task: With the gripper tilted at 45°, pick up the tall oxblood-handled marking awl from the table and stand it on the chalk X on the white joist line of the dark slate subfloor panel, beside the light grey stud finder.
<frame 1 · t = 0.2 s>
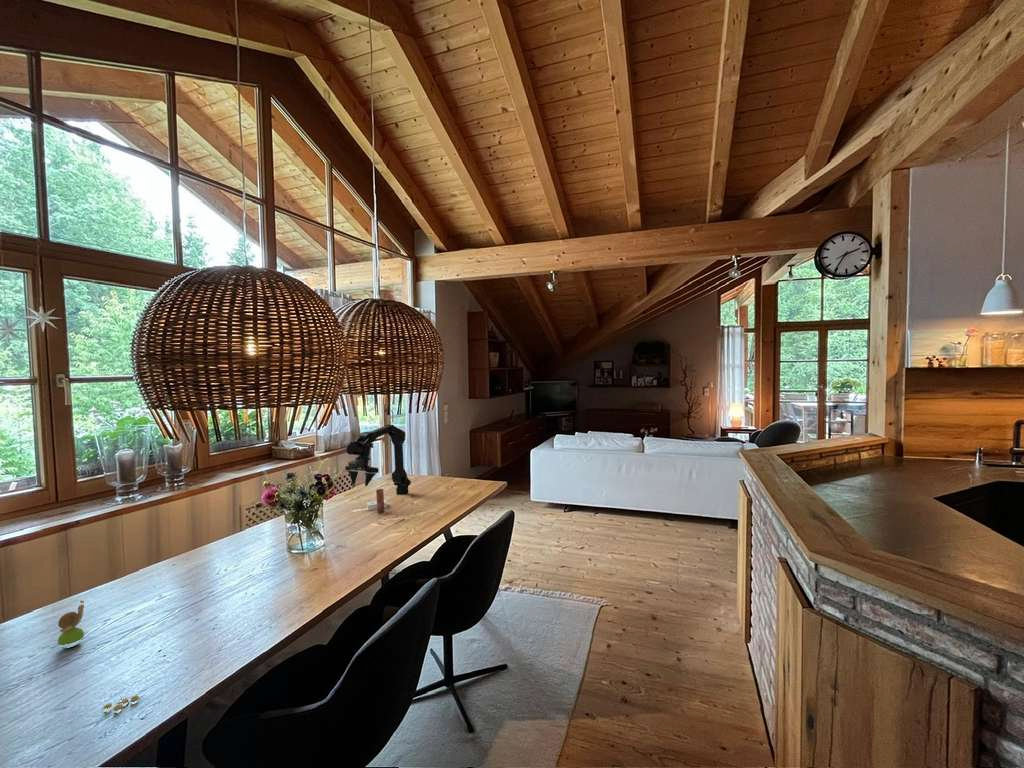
hand: (359, 485, 237), 15 cm above the table, tool tilted 15°, fingers open, 9 cm apart
snail figurine: (74, 646, 131), on the table
marking awl: (381, 515, 234), on the table
subfloor panel: (368, 508, 246), on the table
dice set: (120, 710, 107), on the table
stud finder: (376, 507, 243), resting on subfloor panel
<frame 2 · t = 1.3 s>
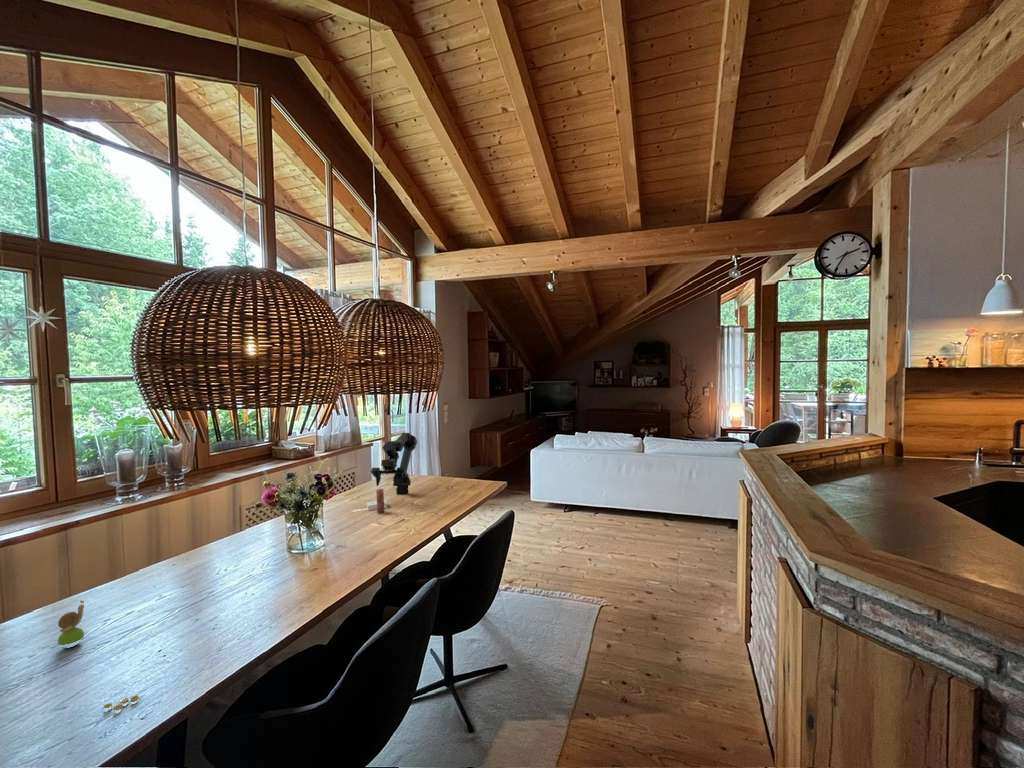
hand: (385, 485, 241), 13 cm above the table, tool tilted 45°, fingers open, 9 cm apart
nothing on the table moved.
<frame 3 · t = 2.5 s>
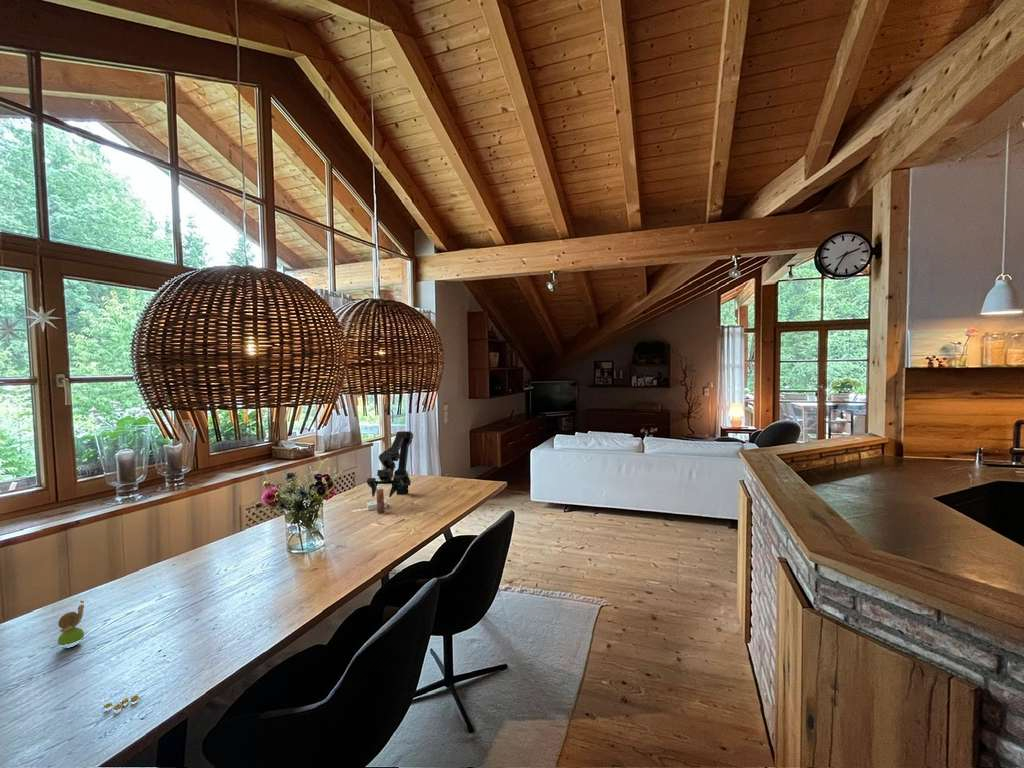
hand: (381, 496, 235), 9 cm above the table, tool tilted 45°, fingers open, 9 cm apart
nothing on the table moved.
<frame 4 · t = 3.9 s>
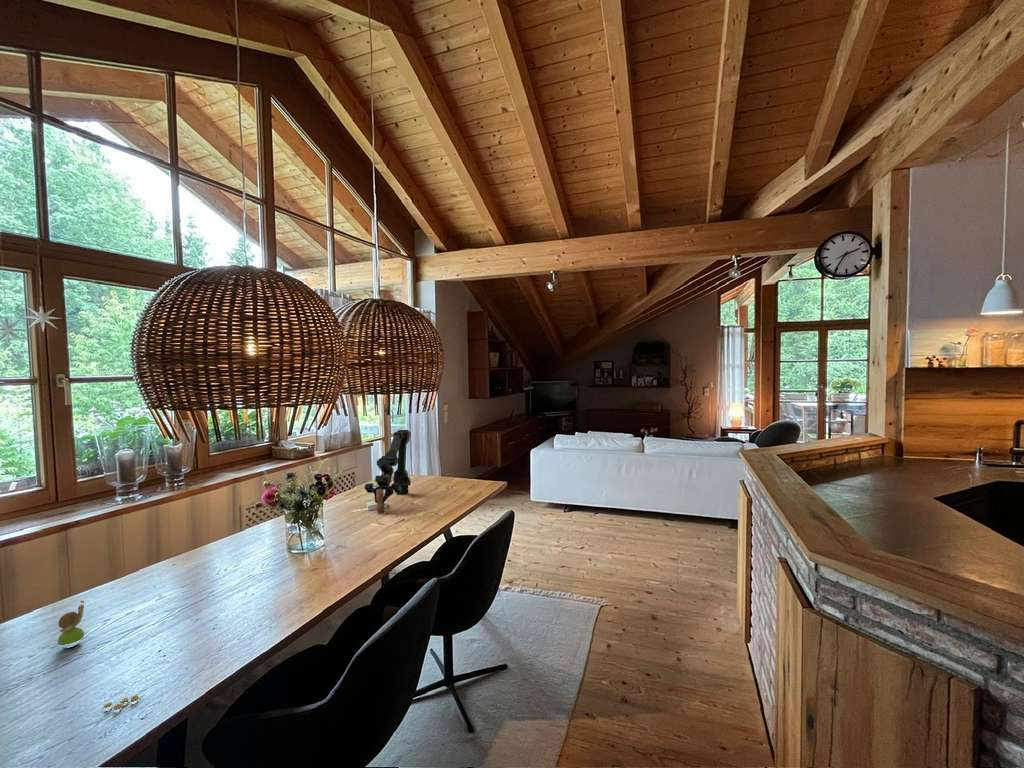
hand: (379, 502, 233), 7 cm above the table, tool tilted 45°, fingers closed on marking awl, 4 cm apart
marking awl: (381, 515, 234), on the table, touching gripper
everything else where it was.
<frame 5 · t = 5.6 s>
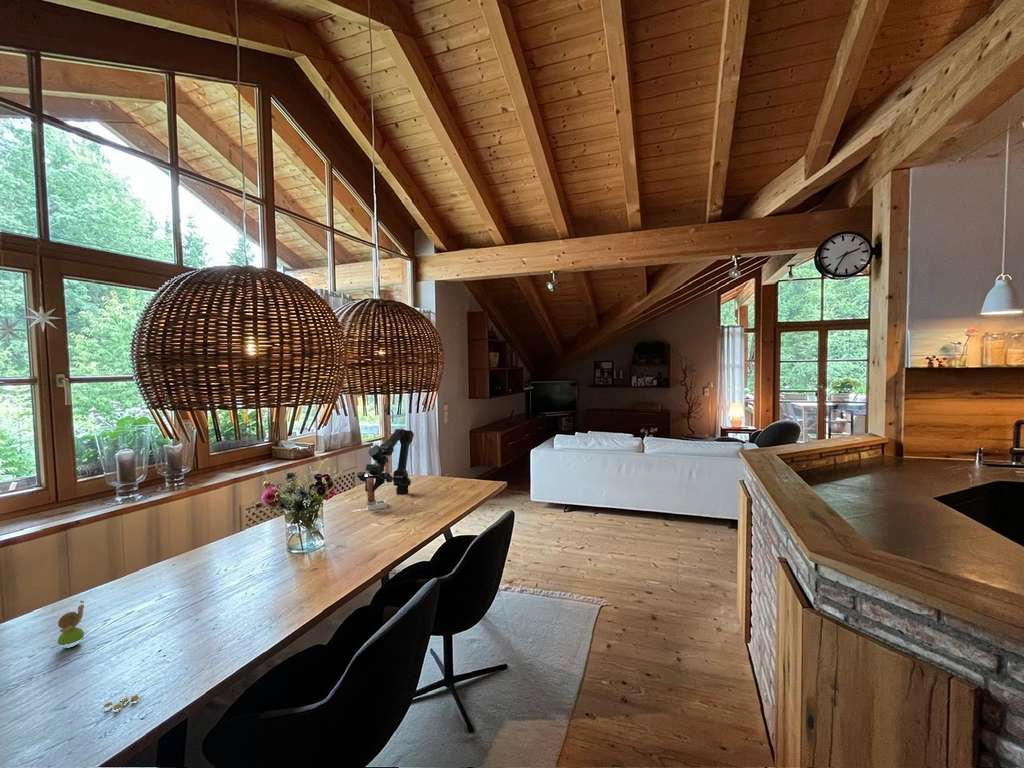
hand: (369, 491, 233), 13 cm above the table, tool tilted 45°, fingers closed on marking awl, 4 cm apart
marking awl: (371, 503, 235), point 6 cm above the table, touching gripper
everything else where it was.
when the fingers open (10 cm above the table, at t = 7.3 s): marking awl drops 1 cm, resting on subfloor panel.
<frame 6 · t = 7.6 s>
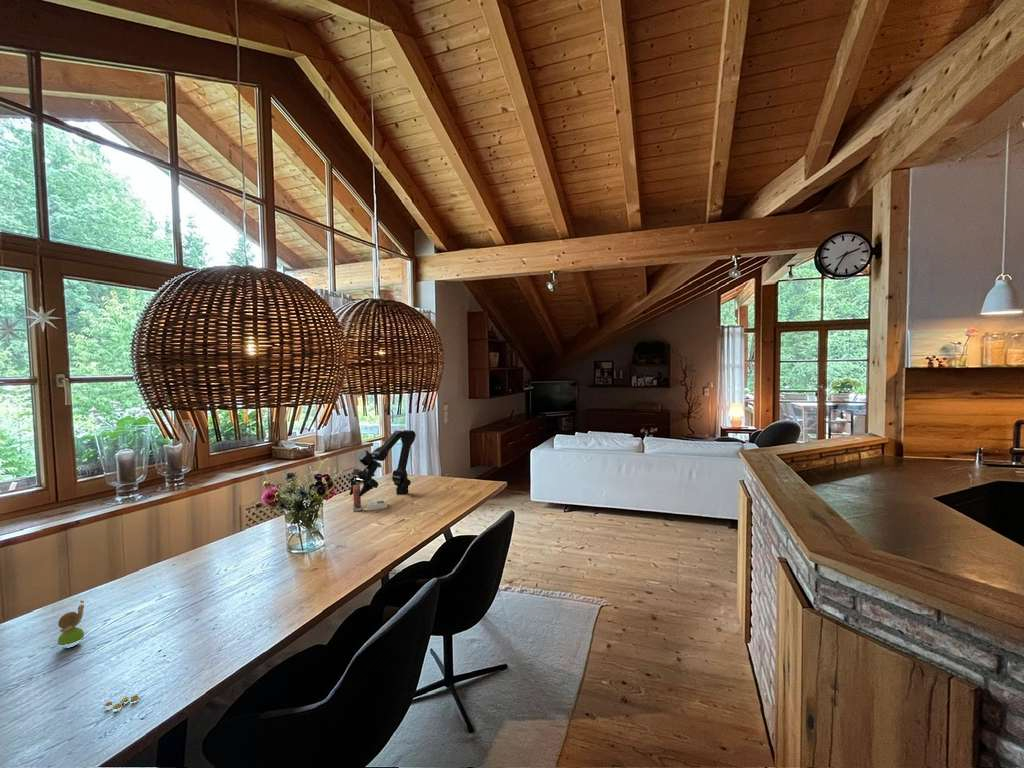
hand: (354, 495, 238), 10 cm above the table, tool tilted 45°, fingers open, 7 cm apart
marking awl: (357, 510, 240), point 1 cm above the table, touching subfloor panel
everything else where it was.
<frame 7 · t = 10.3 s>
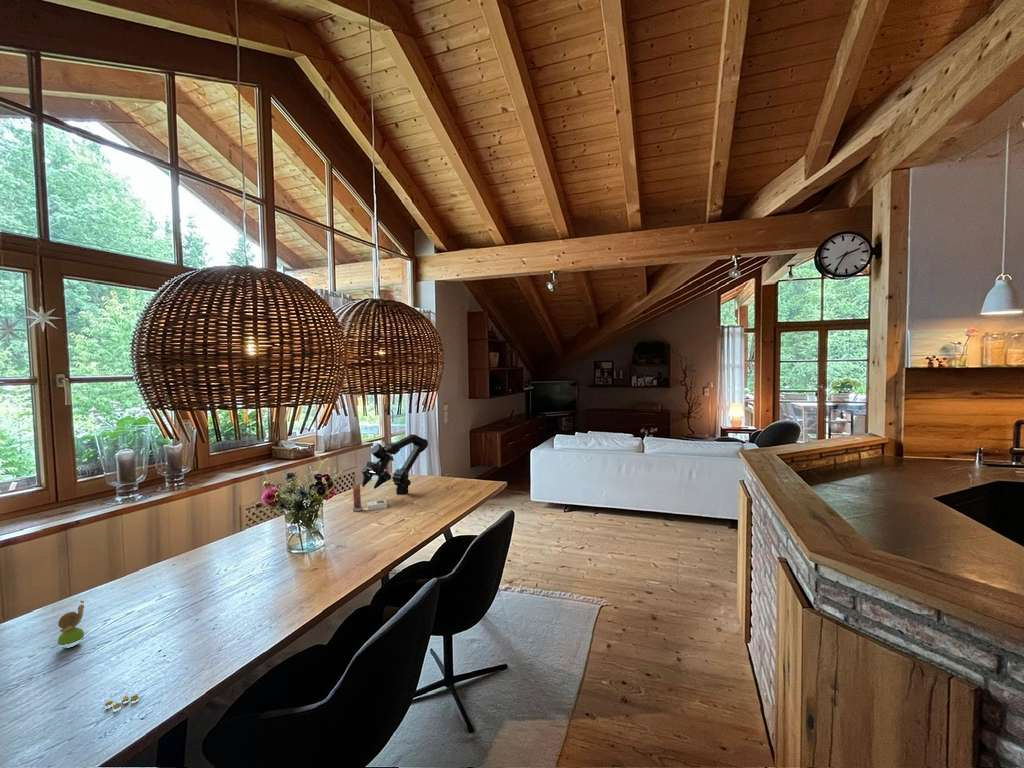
hand: (368, 487, 246), 12 cm above the table, tool tilted 45°, fingers open, 9 cm apart
nothing on the table moved.
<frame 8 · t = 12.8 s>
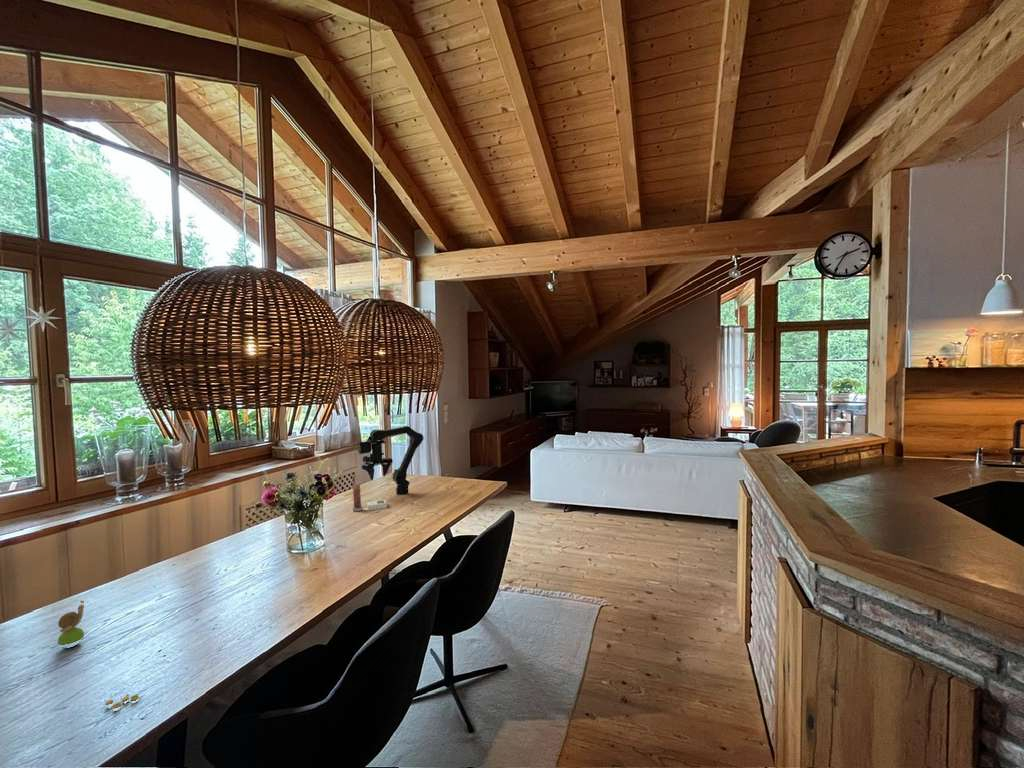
hand: (378, 478, 259), 13 cm above the table, tool pointing down, fingers open, 9 cm apart
nothing on the table moved.
at the end: marking awl 0.0 cm from the target spot, point 1.4 cm above the table; marking awl tilted 0°; the gripper is holding nothing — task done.
